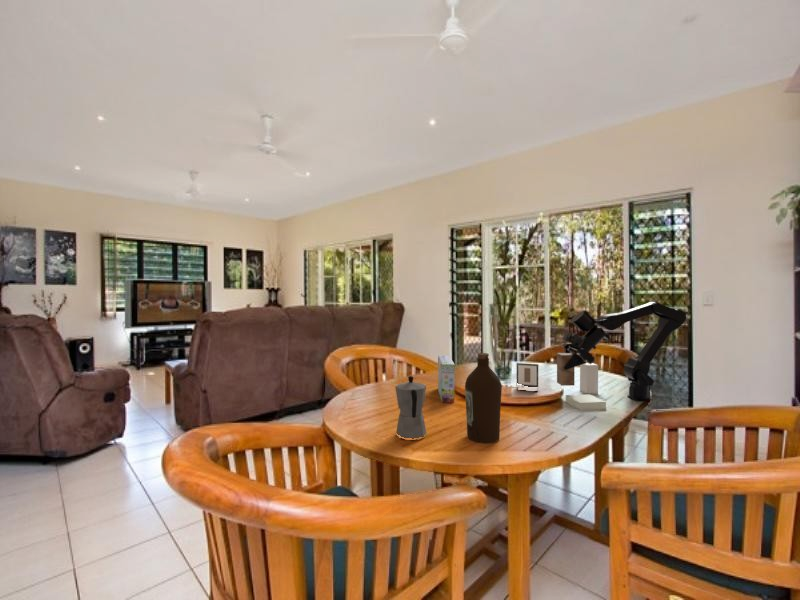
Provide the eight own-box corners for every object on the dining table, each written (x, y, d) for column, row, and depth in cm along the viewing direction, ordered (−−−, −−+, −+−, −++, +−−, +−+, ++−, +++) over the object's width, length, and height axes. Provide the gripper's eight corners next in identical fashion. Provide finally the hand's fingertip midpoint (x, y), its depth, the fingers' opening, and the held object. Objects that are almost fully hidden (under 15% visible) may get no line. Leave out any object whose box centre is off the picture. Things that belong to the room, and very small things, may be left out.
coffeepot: (393, 428, 124) (393, 372, 123) (423, 426, 125) (422, 371, 124) (398, 447, 108) (397, 383, 108) (431, 446, 109) (431, 382, 109)
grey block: (590, 390, 167) (591, 362, 167) (598, 393, 162) (598, 364, 162) (579, 390, 167) (580, 362, 166) (586, 393, 162) (586, 365, 161)
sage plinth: (590, 401, 152) (590, 394, 152) (605, 409, 142) (606, 401, 142) (565, 402, 151) (565, 395, 151) (579, 411, 141) (579, 402, 141)
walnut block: (569, 382, 157) (569, 352, 157) (574, 385, 152) (574, 355, 152) (556, 382, 158) (556, 353, 157) (561, 385, 153) (561, 355, 152)
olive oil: (496, 430, 121) (496, 350, 120) (505, 444, 110) (505, 356, 109) (462, 430, 121) (462, 350, 120) (468, 444, 110) (468, 356, 110)
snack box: (455, 402, 151) (455, 364, 150) (441, 402, 151) (441, 364, 150) (449, 388, 172) (449, 354, 171) (437, 388, 172) (436, 354, 171)
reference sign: (516, 387, 173) (516, 362, 173) (538, 388, 170) (538, 363, 170) (516, 390, 168) (516, 364, 167) (538, 392, 165) (538, 365, 164)
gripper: (566, 323, 163) (540, 349, 164) (585, 328, 145) (555, 357, 146) (585, 341, 163) (559, 368, 164) (607, 348, 145) (577, 378, 145)
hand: (562, 367), depth 155 cm, fingers closed on walnut block, 5 cm apart
